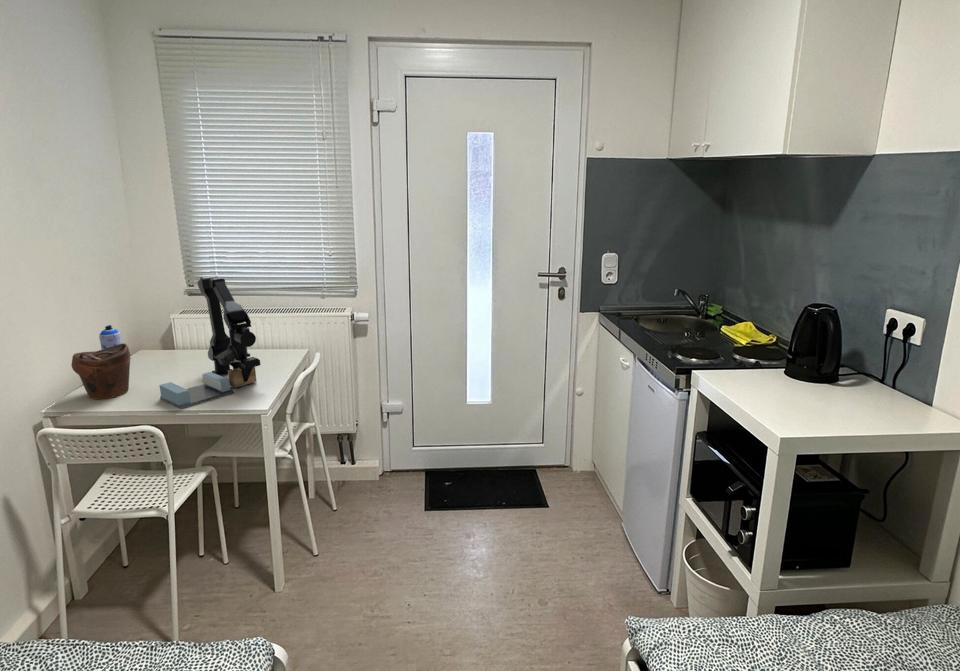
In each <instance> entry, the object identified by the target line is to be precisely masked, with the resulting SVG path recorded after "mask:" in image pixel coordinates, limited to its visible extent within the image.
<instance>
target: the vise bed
mask: <svg viewBox="0 0 960 671" xmlns="http://www.w3.org/2000/svg"><path fill="white" fill-rule="evenodd" d="M186 389H187V390H189V393H190V403H187V404H183V405H180V406H179V405H177V404H175V403H173V402H171V401H169V400H167V399H165V398H163V397H161V395H160V396H159V399H160V400H162V401H164V402H166V403H167V404H170V405H172V406H174V407H176V408H178V409H180V410H181V409H185V408H188V407H192V406H196V405H199V404H203V403H205V402H209V401H212V400H213V401H214V400H217V399H220V398H223V397H226V396H230V395H233V394H235V390H233V389H231V388H230V390H229V391H225V392H221V391H218V390H216V389H214V388H211V387H209V386H207V385H204V383H203V384H200V385H199V384H198V385H196V386H192V387H188V388H186Z"/></svg>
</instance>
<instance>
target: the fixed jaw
mask: <svg viewBox="0 0 960 671" xmlns="http://www.w3.org/2000/svg"><path fill="white" fill-rule="evenodd" d="M158 387H159V390H160V391H159V392H160V396H161V397H163V398H165V399H167V400H169V401H171V402H173V403H175V404H177V405H179V406H180V405H183V404H187V403H190V393H189V390H187V389H188V388H185V387H184V386H180V385H178V384H176V383H174V382H172V381H170V382H169V381H168V382H166V383H161V384H160V385H159V386H158Z"/></svg>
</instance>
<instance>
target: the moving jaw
mask: <svg viewBox="0 0 960 671" xmlns="http://www.w3.org/2000/svg"><path fill="white" fill-rule="evenodd" d="M202 381H203V384H204V385H207V386H209V387H211V388H214V389H216V390H218V391H221V392H225V391H229V390H230V389H231V386H230V384H229V378H226V377H223V376H222V375H217V374H215V373H212V371H207V372H205V373H202Z"/></svg>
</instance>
